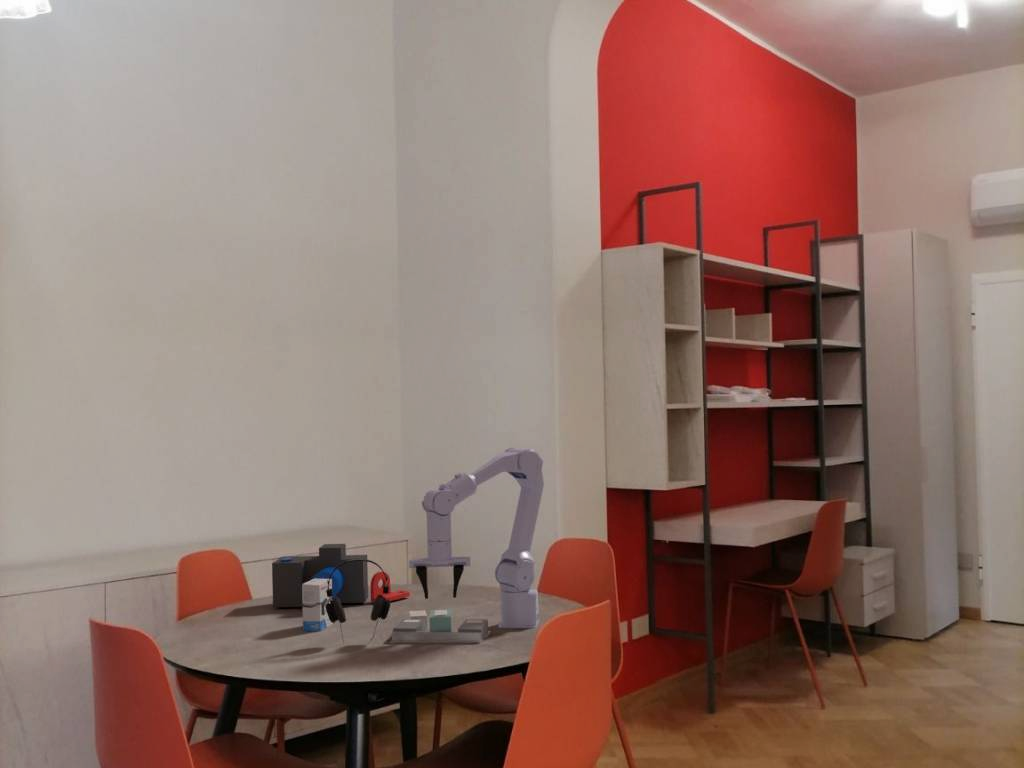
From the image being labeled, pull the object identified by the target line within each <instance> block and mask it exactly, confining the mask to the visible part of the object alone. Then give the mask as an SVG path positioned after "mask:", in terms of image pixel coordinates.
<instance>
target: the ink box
mask: <svg viewBox="0 0 1024 768" xmlns="http://www.w3.org/2000/svg"><path fill="white" fill-rule="evenodd" d="M327 580H328V581H329V579H312V580H310V581H308V582H306V583H304V584H303V585H302V604H303V607H302V632H322V631H323V630H325V629H327V628H329V627H330V626H332V625H333V624H334V623H332V622H331V621H330V619H329V617H328V614H327V611H326V607H325V605H326V604H327V603H330V601H331V600H332V596H331V600H330V597H327V592H326V590H327V589H328V582H327ZM329 589H332V579H330V582H329Z"/></svg>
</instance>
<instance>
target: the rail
mask: <svg viewBox="0 0 1024 768" xmlns="http://www.w3.org/2000/svg"><path fill="white" fill-rule="evenodd" d="M455 631H456V630H452V631H393V630H392V631H391V641H392V642H411V644H412V643H417V644H418V643H421V644H422V643H425V644H427V643H429V644H431V643H433V644H434V643H438V644H440V643H442V644H443V643H444V644H447V643H450V644H455V643H456V644H460V643H461V644H475V643H476V644H481V643H482V642H483V641H482V638H481V632H455Z"/></svg>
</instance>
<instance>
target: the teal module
mask: <svg viewBox="0 0 1024 768" xmlns="http://www.w3.org/2000/svg"><path fill="white" fill-rule="evenodd" d="M452 610H453V609H431V610H430V614H429V630H430V631H453V619H452V618H453V615H452V613H453V612H452Z"/></svg>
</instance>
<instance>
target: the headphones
mask: <svg viewBox="0 0 1024 768" xmlns="http://www.w3.org/2000/svg"><path fill="white" fill-rule="evenodd" d="M352 561H366V562H367V563H371V564H373V565H375V566H377V567H378V568H379V569H380V570H381V572H383V573H384V572H385V571H384V570H383V568H382V567H381V566H380V565H379V564H378V563H377V562H375V561H373V560H370V559H368V558H367V559H352V560H347V561H345V562H343V563H341V564H339V565H338V566H337V567H336V568H335V569H334V570H333V572H332V573H331V575H330V578H331V576H332V574H333V573H334V571H335V570H336V569H337V568H338V567H339V566H341V565H343V564H345V563H348V562H352ZM385 573H386V572H385ZM385 573H384V576H385ZM330 578H329V581H328V580H327V582H328V589H327V590H326V592H327V597H330V600H331V596H333V593H332V589H329V582H330ZM387 578H388V577H386V576H385V579H386V585H387ZM388 591H389V586H388V585H387V586H383V593H385V595H386V594H388ZM391 602H392V601H390V600H388V599H387V600H386V598H385V596H384V597H383V596H382V595H378V596H377V597H376V599H375V602H373V605H372V610H371V614H370V619H371V621H375V622H376V621H377V622H376V624H375V628H374V630H377V629H376V628H377V625H378V621H379V620H380V619H381V620H383V621H384V620H385V619H387V617H388V614H389V611H390V608H391ZM342 604H343V603H341V602H340V599H339V598H338V597H335V598H333V600H331V601H330V603H327V604H326V605H325V607H326V611H327V614H328V617H329V619H330V621H331V622H332V623H333V624H334V623H336V621H337V622H339V625H340V629H341V630H340V631H341V632H343V629H342V624H343V623H345V622H346V621H347V617H346V613H345V610H344V608H343V605H342ZM375 633H376V631H374V632H373V635H372V637H371V638H370V641H369V642H371V641H372V640H373V638H374V637H375ZM341 637H342V639H344V637H343V634H341ZM342 642H343V643H344V642H345V641H344V640H342Z"/></svg>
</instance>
